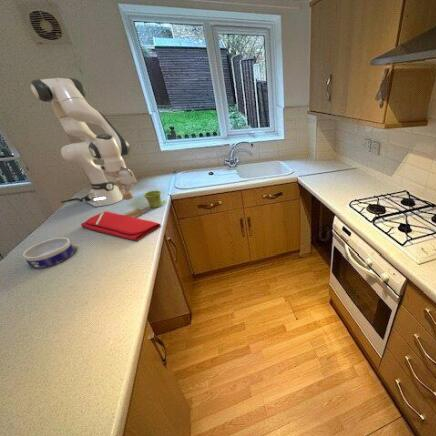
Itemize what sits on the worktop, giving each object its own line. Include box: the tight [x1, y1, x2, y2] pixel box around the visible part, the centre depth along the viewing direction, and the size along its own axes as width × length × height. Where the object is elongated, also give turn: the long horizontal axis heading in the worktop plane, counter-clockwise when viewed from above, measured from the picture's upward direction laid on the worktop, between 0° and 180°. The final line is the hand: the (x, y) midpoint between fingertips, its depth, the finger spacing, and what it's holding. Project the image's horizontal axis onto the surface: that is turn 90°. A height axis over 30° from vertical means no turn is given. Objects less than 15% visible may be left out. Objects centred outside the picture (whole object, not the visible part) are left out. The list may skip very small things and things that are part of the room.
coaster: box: [123, 208, 147, 218], centre depth 143 cm, size 9×9×1 cm
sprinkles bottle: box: [115, 177, 134, 201], centre depth 135 cm, size 5×5×14 cm
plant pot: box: [143, 190, 163, 209], centre depth 150 cm, size 9×9×9 cm
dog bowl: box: [22, 237, 76, 270], centre depth 106 cm, size 15×15×6 cm
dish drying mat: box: [80, 210, 161, 241], centre depth 128 cm, size 16×41×4 cm, turn 69°
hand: (125, 190), depth 136 cm, fingers closed on sprinkles bottle, 4 cm apart
